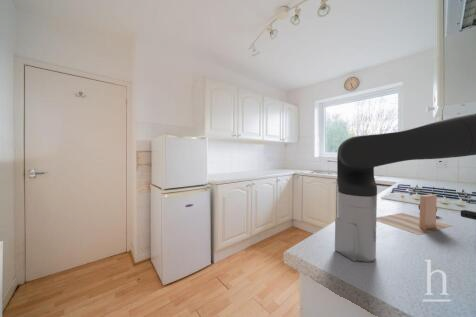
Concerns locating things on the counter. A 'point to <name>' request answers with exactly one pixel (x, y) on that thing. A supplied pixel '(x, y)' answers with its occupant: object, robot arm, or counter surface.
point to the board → (408, 223)
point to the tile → (428, 211)
